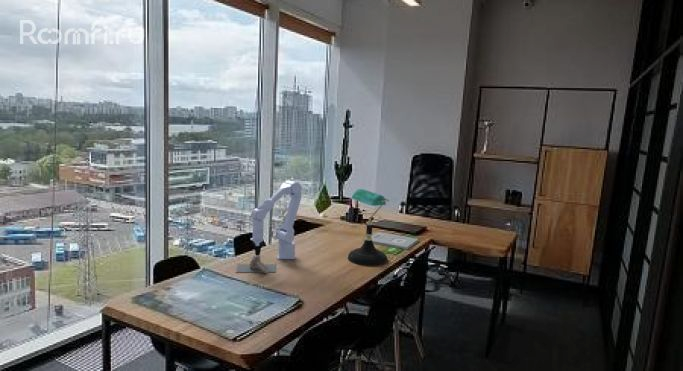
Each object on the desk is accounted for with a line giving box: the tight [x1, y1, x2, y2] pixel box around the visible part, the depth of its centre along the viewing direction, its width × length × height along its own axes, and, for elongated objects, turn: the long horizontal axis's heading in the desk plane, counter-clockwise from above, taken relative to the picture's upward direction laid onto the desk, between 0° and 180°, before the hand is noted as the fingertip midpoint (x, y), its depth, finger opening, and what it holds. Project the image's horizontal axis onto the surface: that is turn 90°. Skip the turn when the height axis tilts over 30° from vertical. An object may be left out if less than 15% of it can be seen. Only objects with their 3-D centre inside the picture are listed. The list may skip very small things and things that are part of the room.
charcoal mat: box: [235, 263, 277, 274], centre depth 227 cm, size 20×12×1 cm, turn 99°
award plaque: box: [363, 231, 419, 251], centre depth 292 cm, size 25×30×2 cm
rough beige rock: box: [249, 255, 268, 274], centre depth 224 cm, size 6×14×7 cm, turn 36°
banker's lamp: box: [347, 188, 390, 267], centre depth 248 cm, size 26×23×40 cm
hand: (257, 254), depth 236 cm, fingers closed
